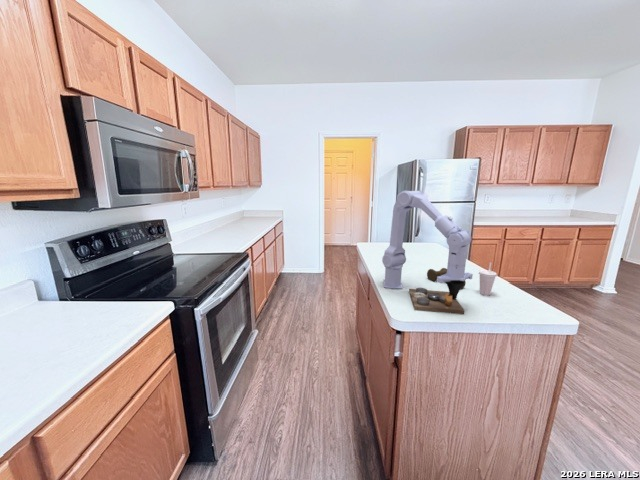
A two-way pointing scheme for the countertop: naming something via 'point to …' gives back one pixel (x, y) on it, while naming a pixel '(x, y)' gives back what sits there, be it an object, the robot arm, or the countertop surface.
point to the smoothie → (486, 281)
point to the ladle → (438, 297)
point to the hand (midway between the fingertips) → (452, 298)
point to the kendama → (434, 274)
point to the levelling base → (433, 302)
